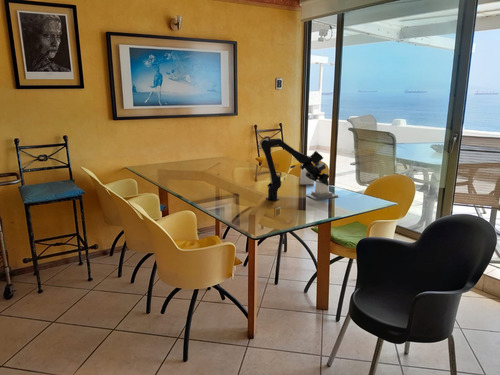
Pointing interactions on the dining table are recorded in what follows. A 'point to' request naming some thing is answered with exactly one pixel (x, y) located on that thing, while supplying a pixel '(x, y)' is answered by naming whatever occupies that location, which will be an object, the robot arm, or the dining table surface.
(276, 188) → the robot arm
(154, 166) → the dining table surface
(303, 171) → the photo printer
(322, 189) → the plug
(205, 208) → the dining table surface
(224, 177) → the dining table surface
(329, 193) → the socket board
